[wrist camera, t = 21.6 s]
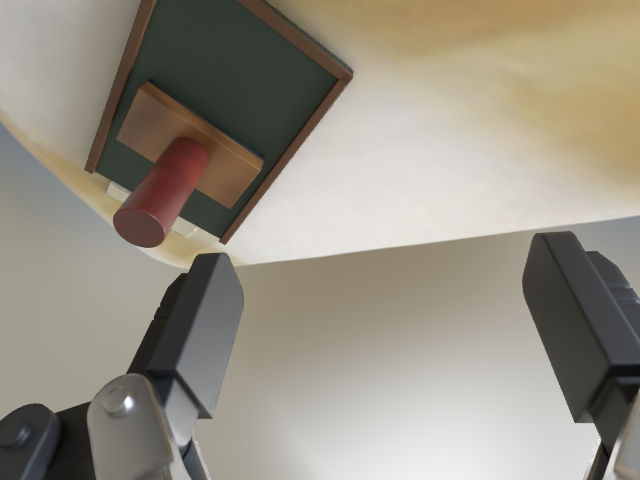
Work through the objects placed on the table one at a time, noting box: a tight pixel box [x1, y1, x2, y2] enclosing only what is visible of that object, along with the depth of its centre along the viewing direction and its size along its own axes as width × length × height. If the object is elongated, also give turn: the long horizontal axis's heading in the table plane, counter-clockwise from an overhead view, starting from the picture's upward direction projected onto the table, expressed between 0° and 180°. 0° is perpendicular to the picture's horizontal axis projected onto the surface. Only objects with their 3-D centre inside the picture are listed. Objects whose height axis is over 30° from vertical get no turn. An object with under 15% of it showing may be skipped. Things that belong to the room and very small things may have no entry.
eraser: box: [113, 79, 265, 248], centre depth 30 cm, size 11×6×12 cm, turn 52°
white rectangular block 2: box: [171, 216, 196, 238], centre depth 43 cm, size 4×2×1 cm, turn 53°
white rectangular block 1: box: [107, 181, 132, 203], centre depth 40 cm, size 4×2×1 cm, turn 51°
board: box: [84, 0, 354, 245], centre depth 34 cm, size 15×22×2 cm
